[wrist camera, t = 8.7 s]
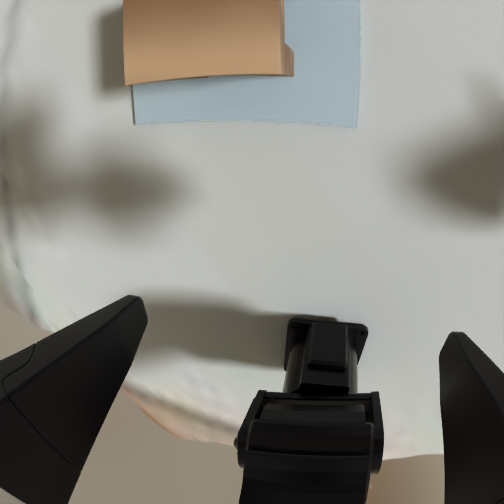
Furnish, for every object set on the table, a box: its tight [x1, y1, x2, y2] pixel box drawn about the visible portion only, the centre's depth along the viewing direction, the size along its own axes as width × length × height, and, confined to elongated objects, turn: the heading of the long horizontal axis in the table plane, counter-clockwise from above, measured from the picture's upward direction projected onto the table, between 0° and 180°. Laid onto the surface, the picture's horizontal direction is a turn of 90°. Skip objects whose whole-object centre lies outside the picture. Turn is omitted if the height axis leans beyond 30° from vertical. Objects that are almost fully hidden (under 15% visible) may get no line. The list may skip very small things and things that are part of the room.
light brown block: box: [123, 0, 294, 85], centre depth 12 cm, size 6×6×6 cm
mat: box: [133, 0, 361, 128], centre depth 15 cm, size 12×14×1 cm
